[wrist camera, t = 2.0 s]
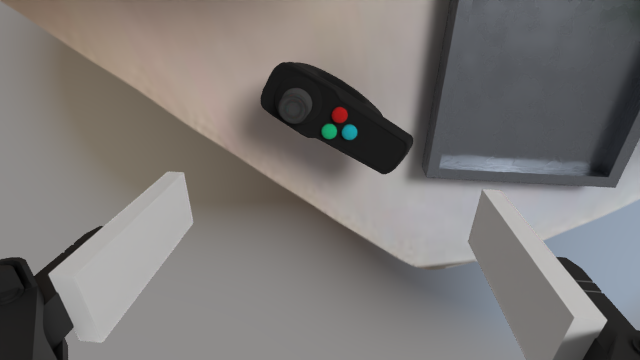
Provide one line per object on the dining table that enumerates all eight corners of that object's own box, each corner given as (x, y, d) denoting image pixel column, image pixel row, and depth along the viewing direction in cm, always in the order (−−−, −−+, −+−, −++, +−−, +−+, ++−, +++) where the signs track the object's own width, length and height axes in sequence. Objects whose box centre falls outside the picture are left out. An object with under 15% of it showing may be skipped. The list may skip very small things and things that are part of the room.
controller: (295, 43, 30) (270, 57, 21) (408, 114, 32) (429, 155, 23) (274, 85, 31) (243, 114, 23) (382, 149, 33) (391, 200, 25)
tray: (455, -30, 26) (465, -34, 24) (688, -28, 25) (721, -32, 23) (421, 166, 34) (426, 177, 32) (597, 175, 33) (615, 187, 30)
